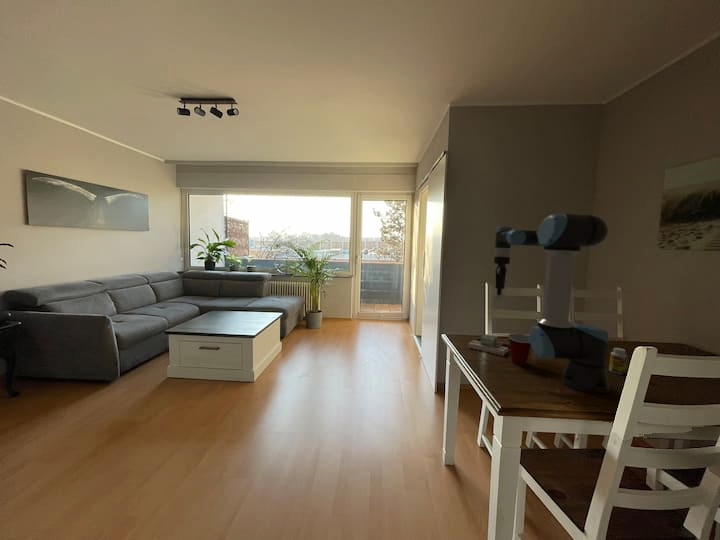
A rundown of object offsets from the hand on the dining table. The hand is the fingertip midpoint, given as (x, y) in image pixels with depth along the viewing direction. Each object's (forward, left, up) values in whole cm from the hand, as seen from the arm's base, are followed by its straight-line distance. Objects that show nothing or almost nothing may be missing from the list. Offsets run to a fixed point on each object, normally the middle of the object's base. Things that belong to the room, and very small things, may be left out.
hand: (499, 300), depth 171 cm
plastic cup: (-21, -16, -24) cm, 36 cm away
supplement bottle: (-3, -51, -24) cm, 56 cm away
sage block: (-12, 0, -21) cm, 24 cm away
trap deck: (-7, 0, -23) cm, 25 cm away
